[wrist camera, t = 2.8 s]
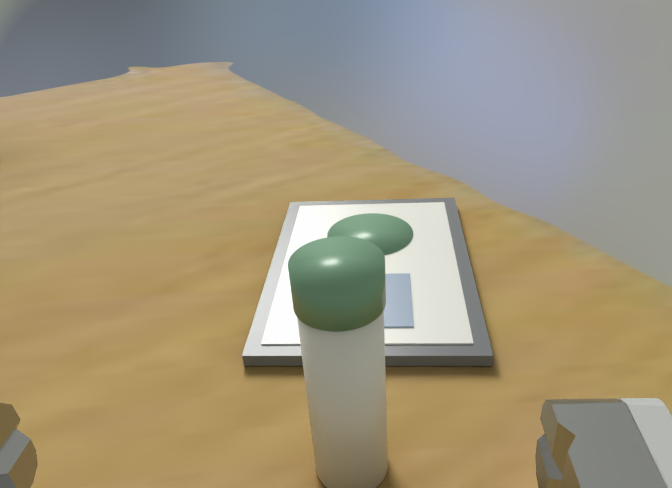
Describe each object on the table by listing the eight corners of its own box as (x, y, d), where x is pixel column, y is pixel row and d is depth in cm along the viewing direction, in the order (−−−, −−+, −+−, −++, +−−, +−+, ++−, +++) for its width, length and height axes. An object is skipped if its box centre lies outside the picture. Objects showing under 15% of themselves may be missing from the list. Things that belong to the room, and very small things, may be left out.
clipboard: (243, 365, 35) (241, 353, 34) (291, 209, 53) (290, 200, 52) (492, 366, 33) (493, 353, 33) (454, 205, 51) (454, 195, 51)
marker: (309, 496, 27) (280, 289, 21) (317, 432, 30) (294, 237, 24) (390, 498, 26) (385, 288, 20) (389, 433, 30) (384, 235, 23)
